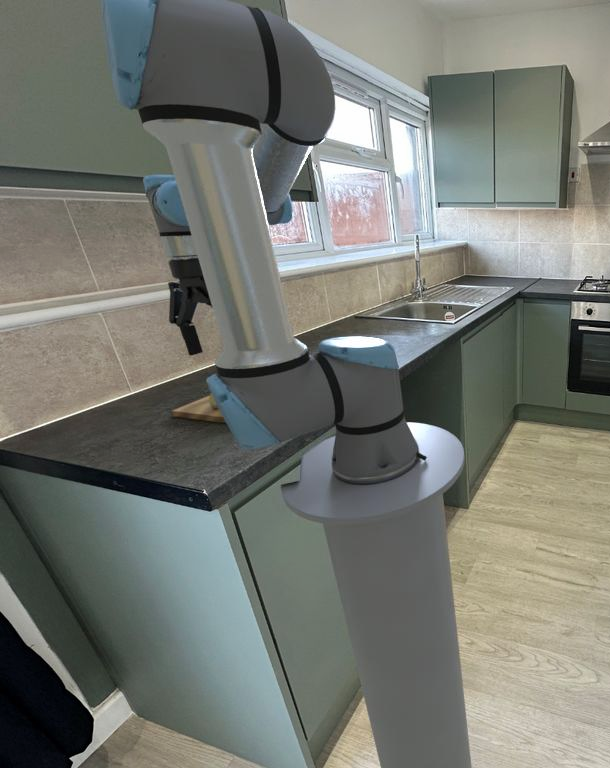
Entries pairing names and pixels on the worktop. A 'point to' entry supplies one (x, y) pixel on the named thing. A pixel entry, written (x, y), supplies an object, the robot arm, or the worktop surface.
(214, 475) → the worktop surface
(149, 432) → the worktop surface
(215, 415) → the cutting board
